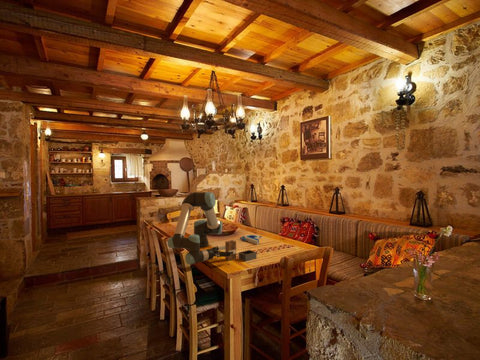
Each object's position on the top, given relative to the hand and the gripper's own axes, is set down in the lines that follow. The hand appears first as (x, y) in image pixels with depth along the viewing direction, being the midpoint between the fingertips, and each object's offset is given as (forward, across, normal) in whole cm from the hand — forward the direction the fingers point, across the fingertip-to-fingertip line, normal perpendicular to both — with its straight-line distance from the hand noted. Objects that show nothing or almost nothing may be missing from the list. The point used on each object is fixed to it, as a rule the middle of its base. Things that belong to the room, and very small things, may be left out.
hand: (230, 249), depth 202 cm
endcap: (+12, +6, -8) cm, 15 cm away
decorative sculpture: (+51, -33, -8) cm, 61 cm away
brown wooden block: (0, 0, -8) cm, 8 cm away
